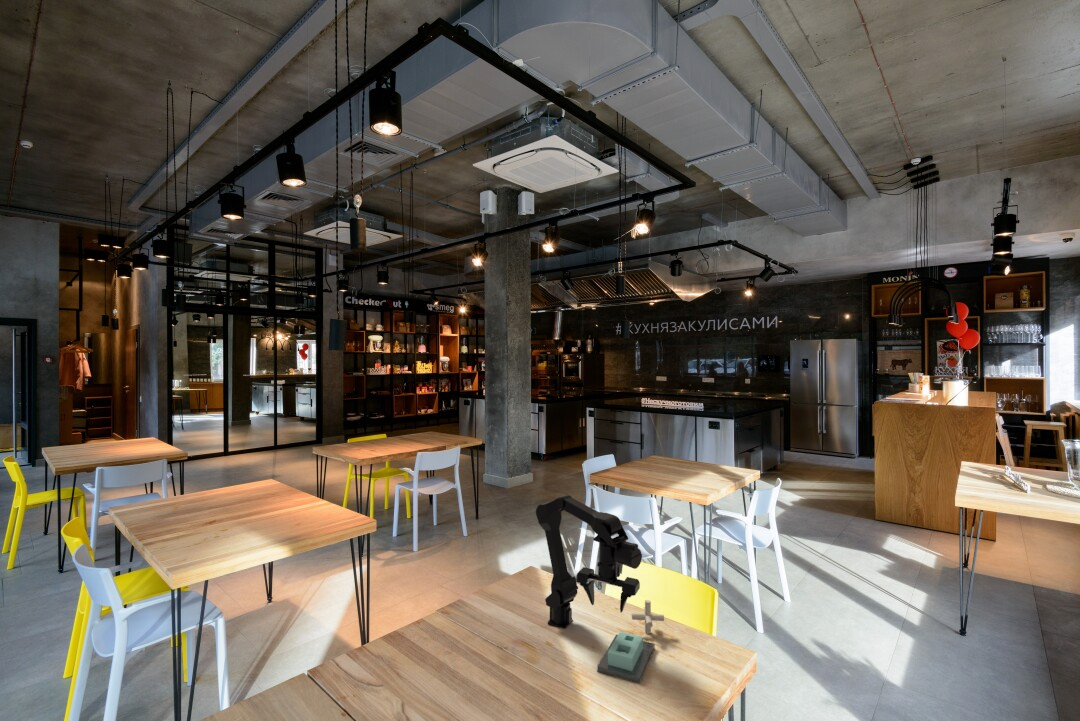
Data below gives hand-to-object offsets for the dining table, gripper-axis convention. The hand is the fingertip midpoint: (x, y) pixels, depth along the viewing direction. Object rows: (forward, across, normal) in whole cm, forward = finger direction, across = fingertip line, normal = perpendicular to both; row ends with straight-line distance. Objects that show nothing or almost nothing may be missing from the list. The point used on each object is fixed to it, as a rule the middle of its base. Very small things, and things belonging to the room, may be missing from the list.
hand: (607, 608), depth 156 cm
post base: (+11, -8, +5) cm, 14 cm away
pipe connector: (+11, -10, -12) cm, 19 cm away
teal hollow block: (+10, -8, +6) cm, 14 cm away
